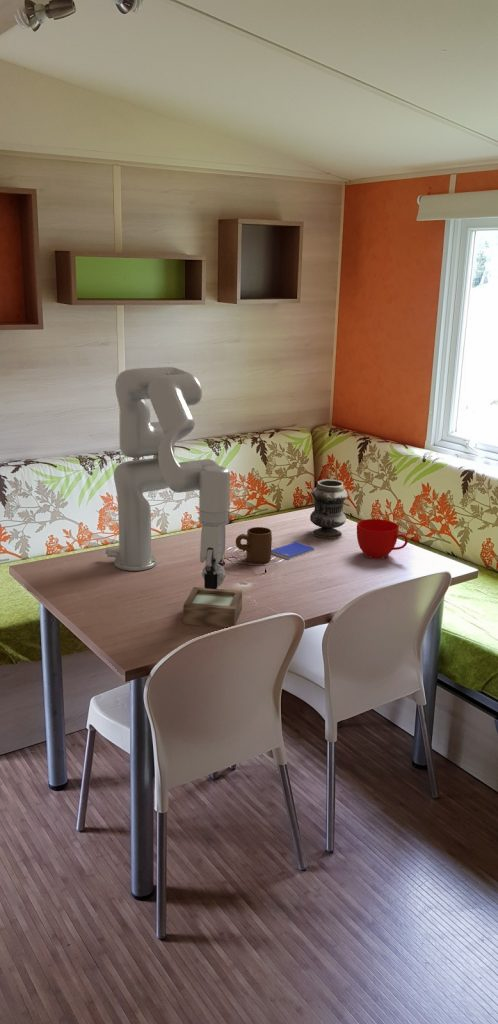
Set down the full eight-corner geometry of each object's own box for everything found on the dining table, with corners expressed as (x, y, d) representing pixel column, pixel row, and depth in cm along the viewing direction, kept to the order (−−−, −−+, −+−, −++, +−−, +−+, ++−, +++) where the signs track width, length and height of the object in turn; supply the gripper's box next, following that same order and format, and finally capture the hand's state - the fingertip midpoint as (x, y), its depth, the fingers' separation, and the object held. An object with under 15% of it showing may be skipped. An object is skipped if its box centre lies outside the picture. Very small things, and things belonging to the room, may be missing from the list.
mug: (241, 568, 251) (242, 538, 249) (229, 560, 258) (229, 530, 255) (275, 561, 257) (276, 532, 255) (262, 554, 264) (263, 525, 261)
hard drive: (288, 556, 259) (314, 547, 268) (269, 550, 264) (294, 541, 273) (288, 561, 259) (314, 552, 268) (269, 554, 265) (294, 546, 273)
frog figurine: (198, 591, 212) (198, 565, 210) (205, 581, 219) (205, 555, 217) (222, 593, 211) (222, 567, 209) (228, 583, 217) (228, 557, 215)
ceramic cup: (395, 568, 254) (398, 537, 251) (347, 556, 263) (349, 525, 261) (415, 557, 264) (417, 527, 261) (367, 545, 273) (369, 516, 270)
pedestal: (183, 623, 212) (183, 604, 211) (193, 605, 224) (193, 587, 222) (234, 628, 211) (234, 609, 209) (241, 609, 222) (242, 590, 221)
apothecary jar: (334, 542, 276) (337, 489, 271) (302, 535, 282) (305, 483, 277) (351, 532, 286) (354, 481, 280) (320, 526, 292) (322, 476, 287)
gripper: (206, 505, 218) (206, 569, 223) (192, 525, 202) (192, 594, 207) (234, 507, 217) (233, 571, 222) (223, 527, 201) (222, 596, 206)
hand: (213, 582), depth 214 cm, fingers closed on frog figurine, 7 cm apart
